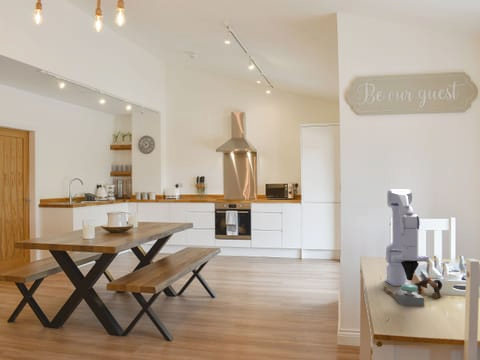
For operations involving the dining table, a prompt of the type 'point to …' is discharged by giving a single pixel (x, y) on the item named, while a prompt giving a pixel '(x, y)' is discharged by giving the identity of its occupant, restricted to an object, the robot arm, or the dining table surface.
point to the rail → (389, 291)
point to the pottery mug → (432, 284)
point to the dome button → (409, 288)
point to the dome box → (409, 299)
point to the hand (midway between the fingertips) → (409, 279)
